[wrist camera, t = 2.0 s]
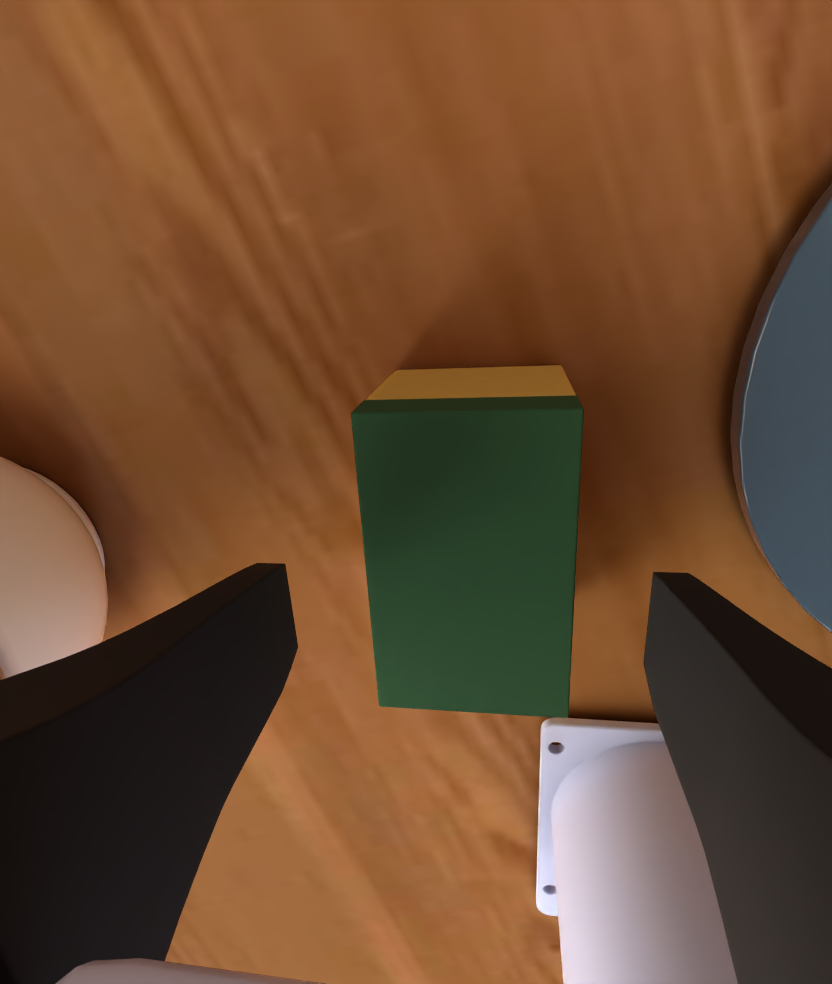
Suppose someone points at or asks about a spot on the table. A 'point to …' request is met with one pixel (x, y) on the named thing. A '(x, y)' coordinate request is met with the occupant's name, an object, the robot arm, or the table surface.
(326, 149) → the table surface
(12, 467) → the trinket box
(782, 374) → the plate
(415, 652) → the sponge
